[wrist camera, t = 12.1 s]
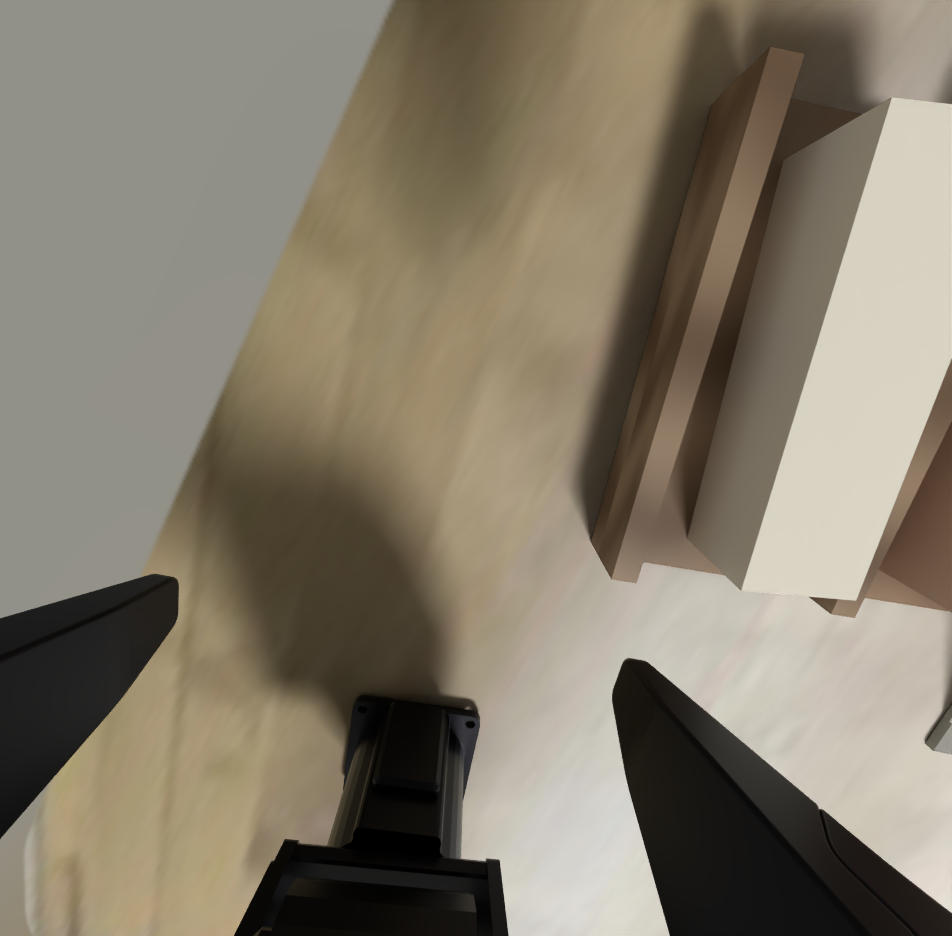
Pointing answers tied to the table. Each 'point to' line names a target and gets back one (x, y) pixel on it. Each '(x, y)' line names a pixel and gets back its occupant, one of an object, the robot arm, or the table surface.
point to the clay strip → (834, 357)
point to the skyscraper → (942, 734)
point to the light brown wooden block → (927, 534)
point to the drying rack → (723, 338)
